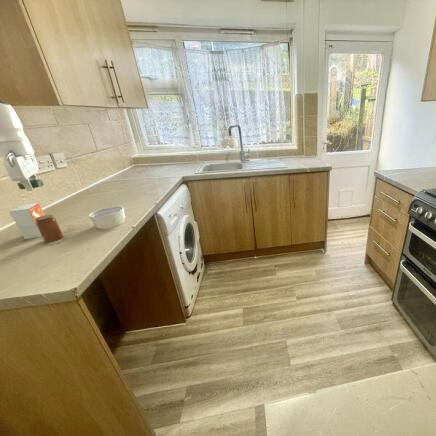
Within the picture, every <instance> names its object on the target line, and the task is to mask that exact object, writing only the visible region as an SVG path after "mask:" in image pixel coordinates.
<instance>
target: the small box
mask: <svg viewBox="0 0 436 436" xmlns="http://www.w3.org/2000/svg"><path fill="white" fill-rule="evenodd" d="M9 215H10V216H11V218H12V220H13V221H14V223H15V225H16V227H17V228H18V229H19V231H20V233H21V235H22V237H23V238H24V240H28V239H33V238H40V237H42V235H41V233H40V231H39V229H38V227H37V225H36V221H35V218H37V217H40V216H44V215H46V214H45V213H44V211H43V209H42V207H41V205H40V203H39V202H35V203H27V204H20V205H19V206H17V207H15V208H13V209H12V210H10V211H9Z"/></svg>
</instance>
